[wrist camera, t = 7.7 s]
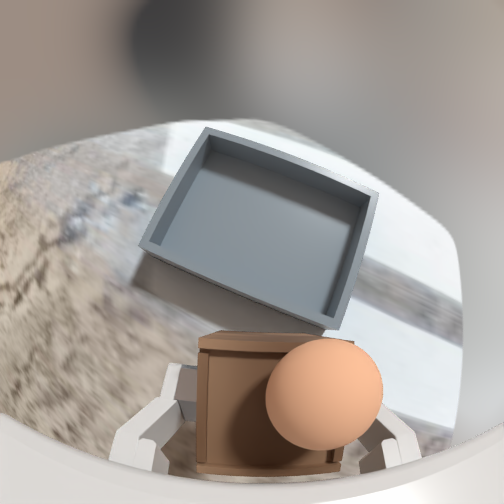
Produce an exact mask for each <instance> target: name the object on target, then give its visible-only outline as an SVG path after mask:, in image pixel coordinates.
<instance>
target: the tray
mask: <svg viewBox="0 0 504 504" xmlns="http://www.w3.org/2000/svg"><path fill="white" fill-rule="evenodd" d="M378 197H379V193H378V192H376V191H374V190H372V189H370V188H368V187H366V186H364V185H361V184H359V183H357V182H355V181H353V180H350V179H348V178H346V177H344V176H341V175H339V174H337V173H335V172H332V171H330V170H328V169H325V168H323V167H320V166H318V165H315V164H313V163H311V162H308V161H306V160H303V159H300V158H298V157H295V156H293V155H290V154H287V153H285V152H282V151H279V150H276V149H274V148H271V147H268V146H265V145H262V144H259V143H257V142H254V141H251V140H248V139H244V138H241V137H238V136H235V135H232V134H229V133H225V132H222V131H219V130H215V129H212V128H208V127H205V129H204V130H203V132H202V133H201V135H200V136H199V138H198V139H197V141H196V143H195V144H194V146H193V147H192V149H191V151H190V152H189V154H188V155H187V157H186V159H185V160H184V162H183V164H182V165H181V167H180V169H179V170H178V172H177V174H176V175H175V177H174V179H173V181H172V182H171V184H170V186H169V188H168V189H167V191H166V193H165V195H164V197H163V198H162V200H161V202H160V204H159V206H158V208H157V209H156V211H155V213H154V215H153V217H152V219H151V221H150V223H149V225H148V227H147V229H146V231H145V233H144V235H143V237H142V239H141V241H140V243H139V245H138V246H139V247H140V248H142V249H143V250H144V251H146V252H147V253H148V254H150V255H151V256H153V257H155V258H157V259H159V260H161V261H163V262H166V263H168V264H170V265H172V266H174V267H177V268H179V269H181V270H183V271H185V272H188V273H190V274H192V275H194V276H197V277H199V278H201V279H203V280H206V281H208V282H210V283H212V284H215V285H217V286H219V287H222V288H224V289H226V290H229V291H231V292H233V293H236V294H238V295H240V296H243V297H245V298H248V299H250V300H252V301H255V302H257V303H260V304H262V305H265V306H267V307H270V308H272V309H275V310H277V311H279V312H282V313H285V314H287V315H290V316H292V317H295V318H297V319H300V320H302V321H305V322H307V323H310V324H313V325H315V326H318V327H321V328H323V329H326V330H339V328H340V325H341V323H342V320H343V317H344V314H345V312H346V309H347V306H348V303H349V300H350V297H351V294H352V291H353V288H354V285H355V282H356V278H357V275H358V272H359V269H360V265H361V262H362V259H363V255H364V252H365V248H366V245H367V241H368V237H369V234H370V230H371V226H372V222H373V218H374V214H375V210H376V205H377V201H378Z"/></svg>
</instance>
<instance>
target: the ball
mask: <svg viewBox="0 0 504 504" xmlns="http://www.w3.org/2000/svg"><path fill="white" fill-rule="evenodd" d="M382 398H383V384H382V378H381V375H380V372H379V370H378V368H377V366H376V364H375V363H374V361H373V360H372V358H371V357H370V356H369V355H368V354H367V353H366V352H365V351H363V350H362V349H361V348H359V347H358V346H356V345H354V344H352V343H349V342H346V341H343V340H338V339H319V340H313V341H310V342H307V343H304V344H302V345H300V346H298V347H296V348H294V349H293V350H291V351H290V352H289V353H288V354H286V355H285V356H284V357H283V358H282V359H281V360H280V361H279V363H278V364H277V365H276V367H275V368H274V370H273V372H272V373H271V376H270V378H269V381H268V384H267V388H266V408H267V413H268V416H269V418H270V420H271V422H272V424H273V426H274V427H275V429H276V430H277V431H278V432H279V434H280V435H281V436H282V437H284V438H285V439H286V440H288V441H289V442H291V443H293V444H294V445H297V446H299V447H302V448H305V449H310V450H331V449H336V448H339V447H342V446H345V445H347V444H349V443H351V442H353V441H354V440H356V439H357V438H359V437H360V436H361V435H363V434H364V433H365V432H366V431H367V430H368V428H369V427H370V426H371V425H372V423H373V422H374V420H375V418H376V417H377V415H378V413H379V410H380V407H381V403H382Z"/></svg>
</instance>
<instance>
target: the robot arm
mask: <svg viewBox="0 0 504 504" xmlns="http://www.w3.org/2000/svg"><path fill="white" fill-rule="evenodd" d="M196 400H197V366H191V365H183V364H176V363H169V365H168V367H167V371H166V374H165V378H164V382H163V386H162V390H161V394H160V397H156V398H154V399H153V400H152V401H151V402H150V403H149V404H147V405H146V406H145V407H144V408H143V409H142V410H141V411H139V412H138V413H137V414H136V415H135V416H134V417H132V418H131V419H130V420H129V421H128V422H126V423H125V424H124V425H123V426H122V427H120V428H119V429H118V430H117V431H116V435H115V438H114V442H113V445H112V449H111V452H110V456H109V460H108V459H104V458H101V457H98V456H96V455H93V454H90V453H87V452H84V451H82V450H79V449H77V448H74V447H72V446H69V445H67V444H64V443H62V442H60V441H57V440H55V439H53V438H51V437H49V436H47V435H44V434H42V433H40V432H38V431H36V430H34V429H32V428H31V427H29V426H27V425H25V424H23V423H21V422H19V421H18V420H16V419H14V418H13V417H11V416H9V415H7V414H5V413H0V504H504V422H503V423H501V424H499V425H497V426H495V427H494V428H492V429H490V430H488V431H486V432H484V433H482V434H480V435H478V436H476V437H474V438H472V439H469V440H467V441H465V442H463V443H460V444H458V445H456V446H453V447H451V448H448V449H446V450H443V451H441V452H438V453H435V454H433V455H430V456H427V457H424V458H422V457H421V453H420V450H419V446H418V442H417V439H416V435H415V432H414V431H413V430H412V429H411V428H410V427H408V426H407V425H406V424H405V423H404V422H403V421H402V420H401V419H399V418H398V417H397V416H396V415H395V414H394V413H393V412H392V411H391V410H389V409H388V408H387V407H386V406H385V405H384V404H383V403H381V407H380V410H379V413H378V415H377V417H376V418H375V420H374V422H373V423H372V425H371V426H370V427H369V428H368V430H367V431H366V432H365V433H364V434H363V435H361V436H360V437H359V438H357V439H358V440H359V441H360V442H361V443H362V445H363V446H364V447H365V448H366V449H367V451H368V452H369V453H368V454H367V455H366V456H364V457H363V458H362V459H361V460H360V461H359V467H360V474H359V475H353V476H347V477H341V478H334V479H326V480H318V481H307V482H293V483H234V482H219V481H209V480H200V479H192V478H185V477H179V476H173V475H168V469H169V460H168V459H167V458H166V456H165V455H164V454H163V452H162V451H161V450H160V449H161V448H162V447H163V446H164V445H165V444H166V443H167V441H168V440H169V439H170V438H171V437H172V436H173V435H174V434H175V433H176V431H177V430H178V429H179V428H180V427H181V426H182V425H183V424H184V423H185V421H192V422H196Z"/></svg>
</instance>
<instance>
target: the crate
mask: <svg viewBox="0 0 504 504" xmlns="http://www.w3.org/2000/svg"><path fill="white" fill-rule="evenodd" d="M319 339H335V338H329V337H323V336H317V335H311V334H305V333H263V332H241V331H224V330H220V331H218V332H215V333H212V334H209V335H206V336H202V337H199V342H198V348H200V352H199V353H198V365H197V400H196V462H197V465H196V470H197V473H206V474H216V475H228V476H249V477H280V476H300V475H313V474H323V473H331V472H339V471H340V468H341V464H340V462H339V461H342V456H343V450H344V446H342V447H339V448H336V449H331V450H310V449H305V448H302V447H299V446H297V445H294V444H293V443H291V442H289V441H288V440H286V439H285V438H284V437H282V436H281V435H280V434H279V432H278V431H277V430H276V429H275V427H274V426H273V424H272V422H271V420H270V418H269V416H268V413H267V408H266V388H267V384H268V381H269V378H270V376H271V373H272V372H273V370H274V368H275V367H276V365H277V364H278V363H279V361H280V360H281V359H282V358H283V357H284V356H285V355H286V354H288V353H289V352H290V351H291V350H293V349H294V348H296V347H298V346H300V345H302V344H304V343H307V342H310V341H313V340H319ZM338 340H342V339H338ZM343 341H346V342H349V343H352V344H354V341H348V340H343Z"/></svg>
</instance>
